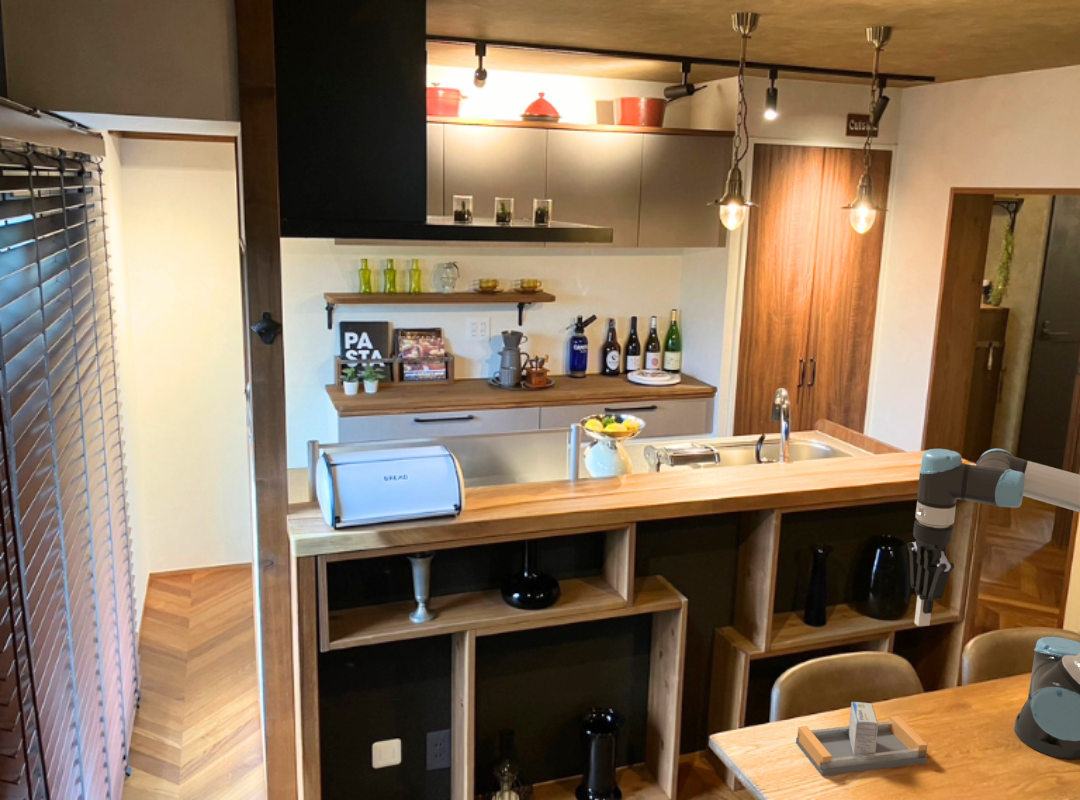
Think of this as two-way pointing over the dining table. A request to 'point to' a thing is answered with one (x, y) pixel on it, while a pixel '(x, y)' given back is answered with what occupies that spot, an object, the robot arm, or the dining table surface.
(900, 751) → the grey shallow tray
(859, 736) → the medicine box
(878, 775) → the dining table surface
